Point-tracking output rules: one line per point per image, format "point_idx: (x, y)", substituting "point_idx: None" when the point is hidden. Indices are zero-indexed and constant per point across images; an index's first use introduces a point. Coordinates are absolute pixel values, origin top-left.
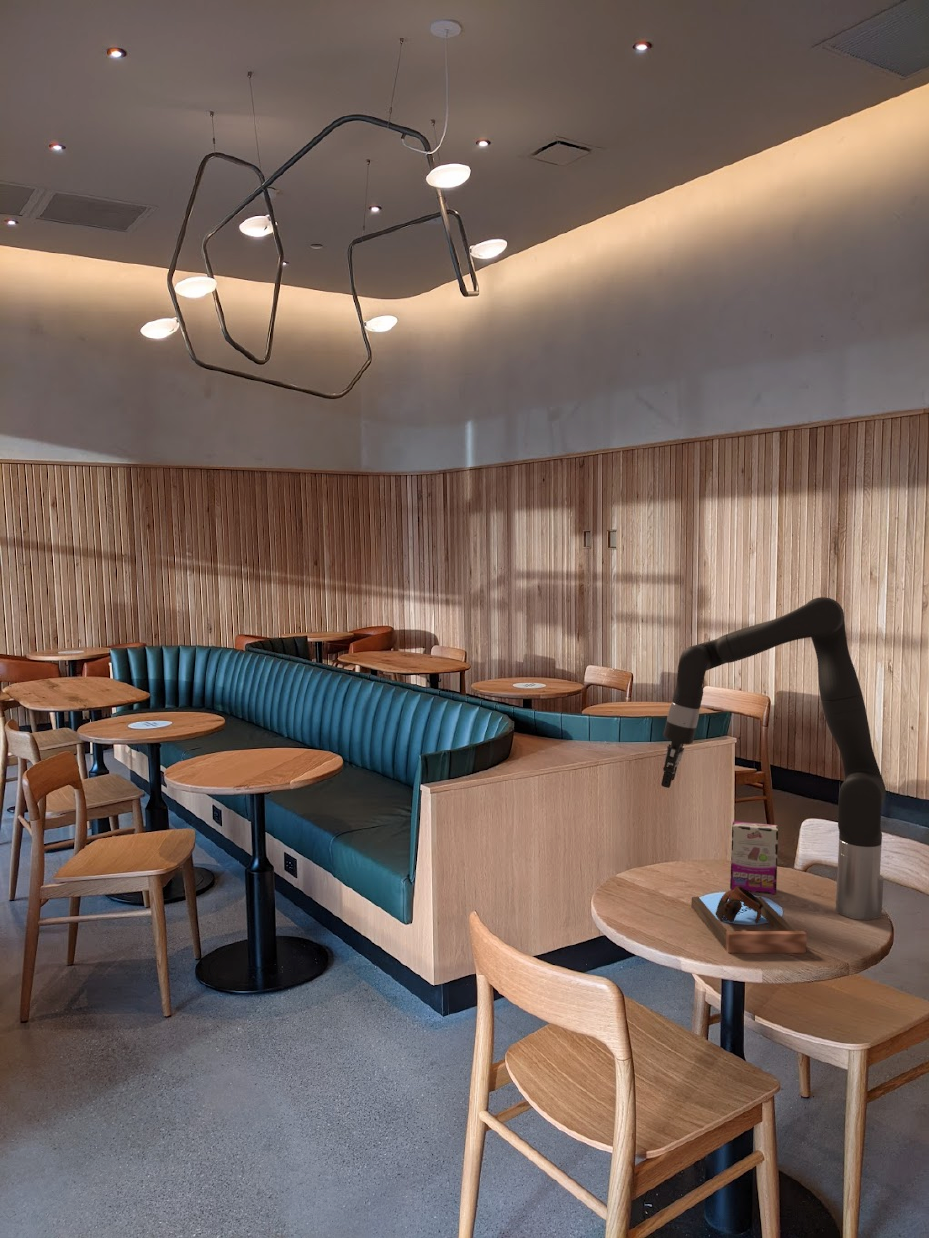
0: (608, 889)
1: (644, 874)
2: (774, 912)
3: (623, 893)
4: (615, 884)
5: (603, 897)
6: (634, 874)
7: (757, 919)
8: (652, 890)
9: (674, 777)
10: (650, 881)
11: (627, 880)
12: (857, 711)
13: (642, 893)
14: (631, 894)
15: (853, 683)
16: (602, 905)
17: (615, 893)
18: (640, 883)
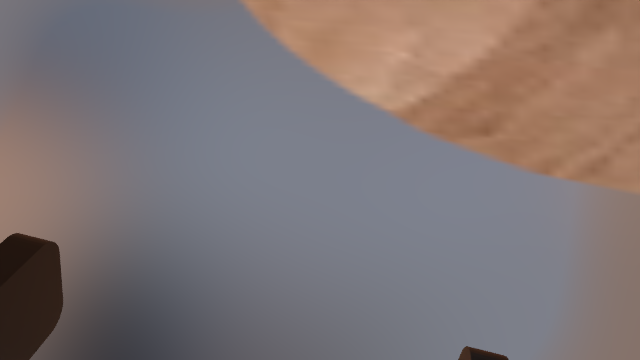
0: (538, 167)
1: (336, 25)
2: None
3: (585, 122)
4: (479, 140)
5: (628, 189)
6: (346, 64)
7: None
8: (546, 6)
9: (21, 254)
10: (424, 6)
11: (425, 96)
12: None
13: (587, 52)
14: (598, 95)
15: None
16: None
17: (584, 149)
18: (456, 50)
